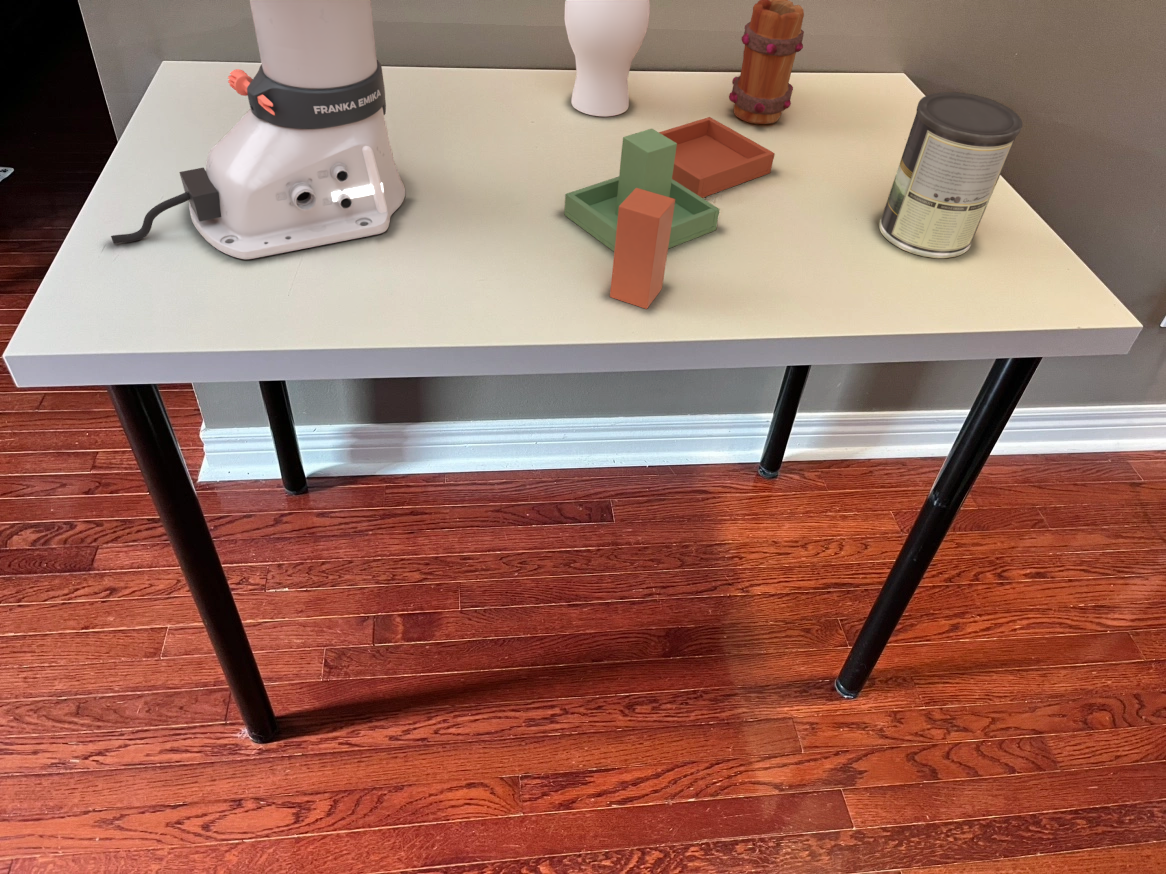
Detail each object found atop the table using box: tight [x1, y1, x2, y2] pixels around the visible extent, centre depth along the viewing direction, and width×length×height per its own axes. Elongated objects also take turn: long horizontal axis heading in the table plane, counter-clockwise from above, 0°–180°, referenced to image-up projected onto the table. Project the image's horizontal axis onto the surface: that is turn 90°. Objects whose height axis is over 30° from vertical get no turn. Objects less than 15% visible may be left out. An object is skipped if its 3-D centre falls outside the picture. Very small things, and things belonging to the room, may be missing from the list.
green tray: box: [563, 175, 720, 252], centre depth 96 cm, size 12×11×3 cm
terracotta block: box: [609, 188, 675, 310], centre depth 84 cm, size 4×4×10 cm
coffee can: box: [878, 91, 1023, 259], centre depth 94 cm, size 10×10×14 cm
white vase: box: [563, 0, 651, 117], centre depth 113 cm, size 11×11×15 cm
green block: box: [616, 128, 677, 216], centre depth 93 cm, size 4×4×9 cm
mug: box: [728, 0, 805, 125], centre depth 115 cm, size 15×8×15 cm, turn 168°
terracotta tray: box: [658, 116, 776, 199], centre depth 106 cm, size 12×11×3 cm
